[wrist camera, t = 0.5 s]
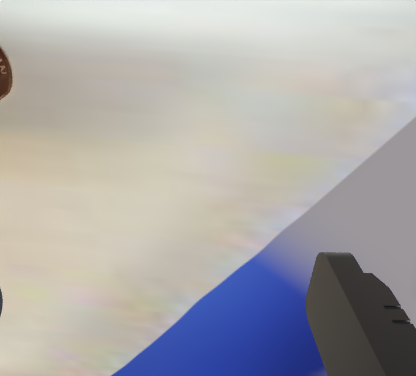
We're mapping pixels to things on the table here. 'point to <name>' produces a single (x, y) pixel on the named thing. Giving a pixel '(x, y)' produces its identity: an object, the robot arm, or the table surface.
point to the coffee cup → (5, 74)
